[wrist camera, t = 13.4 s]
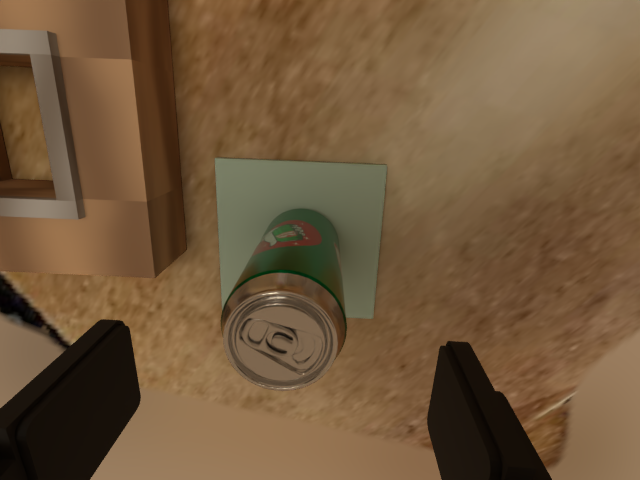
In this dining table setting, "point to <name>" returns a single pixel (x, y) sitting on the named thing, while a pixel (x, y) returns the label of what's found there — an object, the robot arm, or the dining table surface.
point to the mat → (306, 193)
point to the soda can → (288, 304)
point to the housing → (95, 140)
